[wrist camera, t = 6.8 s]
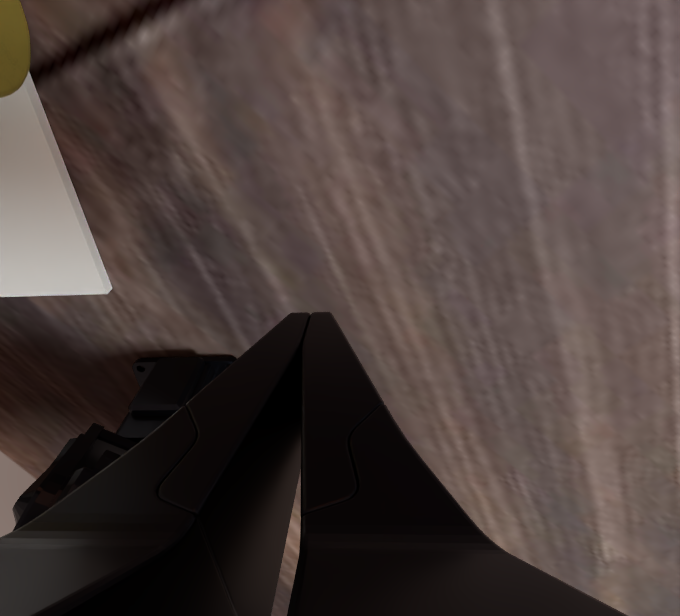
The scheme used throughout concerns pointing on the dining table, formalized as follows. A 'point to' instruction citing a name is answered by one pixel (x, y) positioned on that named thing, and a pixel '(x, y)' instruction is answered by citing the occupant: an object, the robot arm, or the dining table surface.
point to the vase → (13, 47)
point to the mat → (41, 209)
